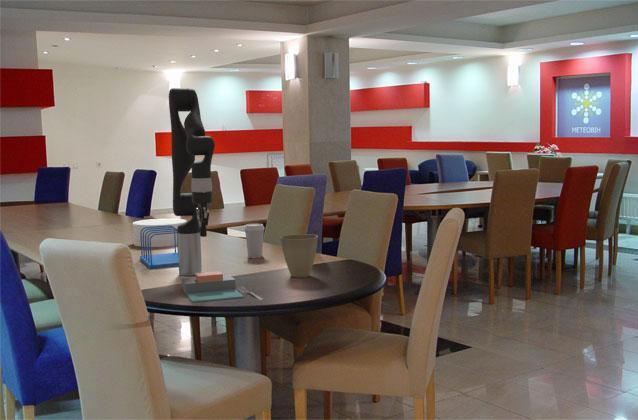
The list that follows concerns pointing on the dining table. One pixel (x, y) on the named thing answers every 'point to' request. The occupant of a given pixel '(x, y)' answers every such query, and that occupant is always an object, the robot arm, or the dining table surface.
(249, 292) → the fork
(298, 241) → the plant pot
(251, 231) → the coffee cup
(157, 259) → the file sorter
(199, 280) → the tile
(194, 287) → the panel
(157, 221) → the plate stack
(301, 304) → the dining table surface
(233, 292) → the mat
